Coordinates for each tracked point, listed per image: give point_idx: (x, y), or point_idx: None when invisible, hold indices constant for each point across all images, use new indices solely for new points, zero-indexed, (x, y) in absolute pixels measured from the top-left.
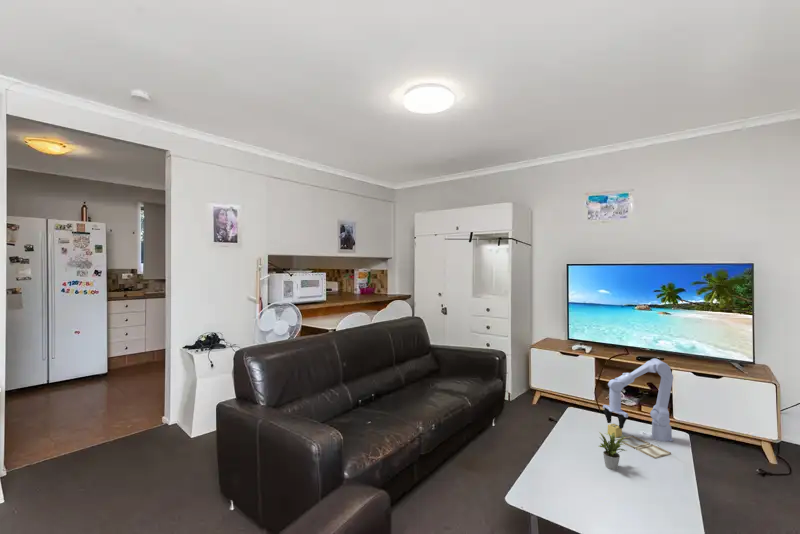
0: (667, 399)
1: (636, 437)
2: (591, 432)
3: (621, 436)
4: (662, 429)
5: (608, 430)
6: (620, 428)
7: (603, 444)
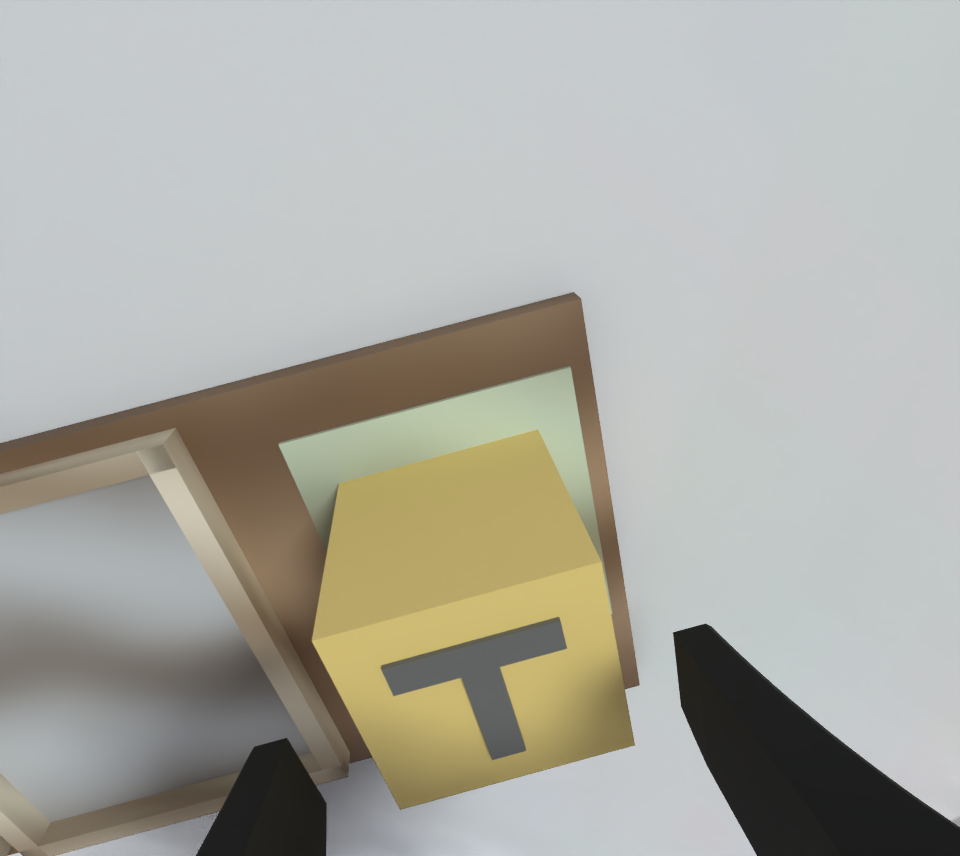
0: None
1: None
2: (748, 101)
3: None
4: None
5: (535, 478)
6: (252, 750)
7: None
